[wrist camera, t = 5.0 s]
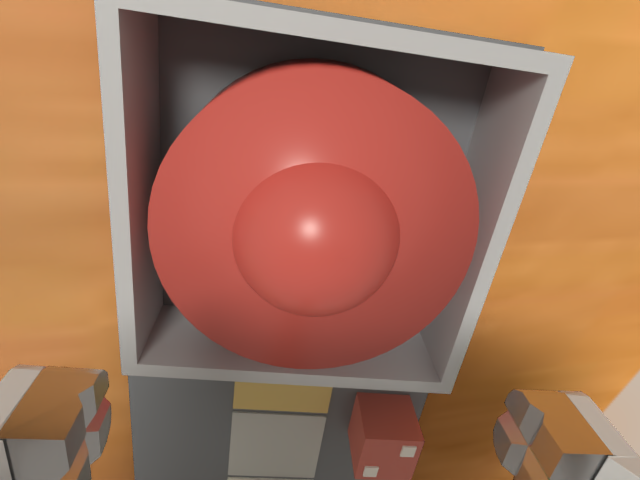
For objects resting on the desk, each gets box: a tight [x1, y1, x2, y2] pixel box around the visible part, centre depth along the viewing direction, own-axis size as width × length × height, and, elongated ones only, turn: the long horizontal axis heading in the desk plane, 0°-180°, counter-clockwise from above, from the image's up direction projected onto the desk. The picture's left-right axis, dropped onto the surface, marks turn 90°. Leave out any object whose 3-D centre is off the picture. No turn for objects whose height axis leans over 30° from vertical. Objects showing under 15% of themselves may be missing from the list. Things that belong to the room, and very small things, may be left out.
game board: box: [94, 0, 575, 480], centre depth 21 cm, size 16×31×5 cm, turn 172°
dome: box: [147, 58, 479, 369], centre depth 16 cm, size 11×11×6 cm
